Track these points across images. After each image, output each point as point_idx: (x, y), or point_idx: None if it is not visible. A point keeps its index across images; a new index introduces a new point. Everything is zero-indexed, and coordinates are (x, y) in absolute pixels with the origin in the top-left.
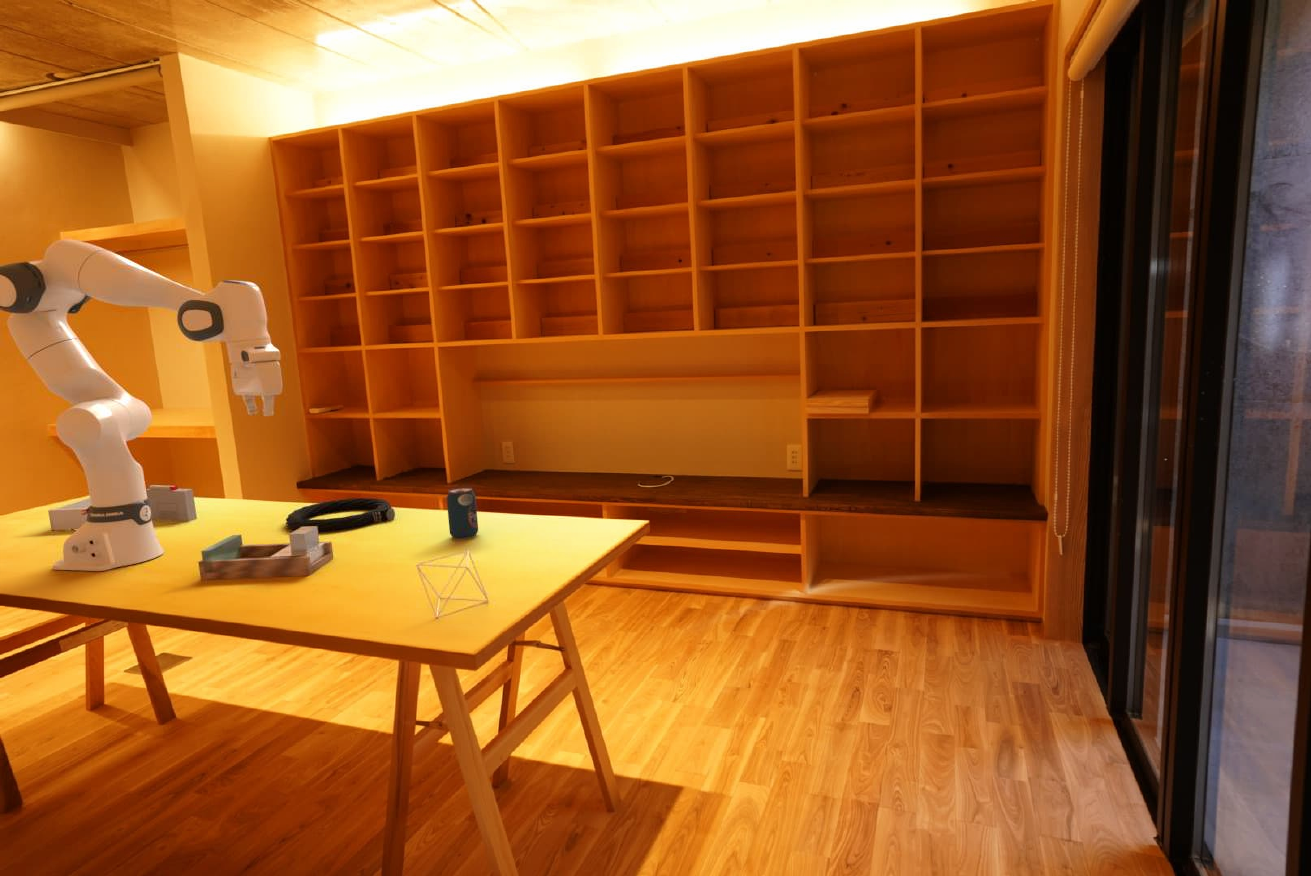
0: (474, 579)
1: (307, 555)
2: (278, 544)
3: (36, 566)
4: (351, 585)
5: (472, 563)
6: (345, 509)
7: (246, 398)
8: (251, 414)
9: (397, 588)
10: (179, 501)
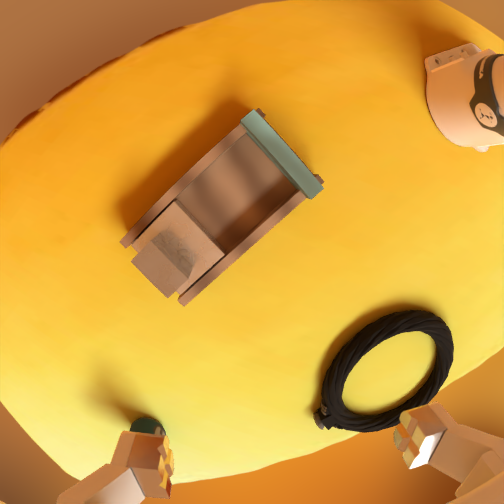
0: None
1: (134, 248)
2: (248, 241)
3: (492, 48)
4: (52, 255)
5: None
6: (421, 389)
7: (479, 467)
8: (402, 412)
9: (16, 283)
10: None
